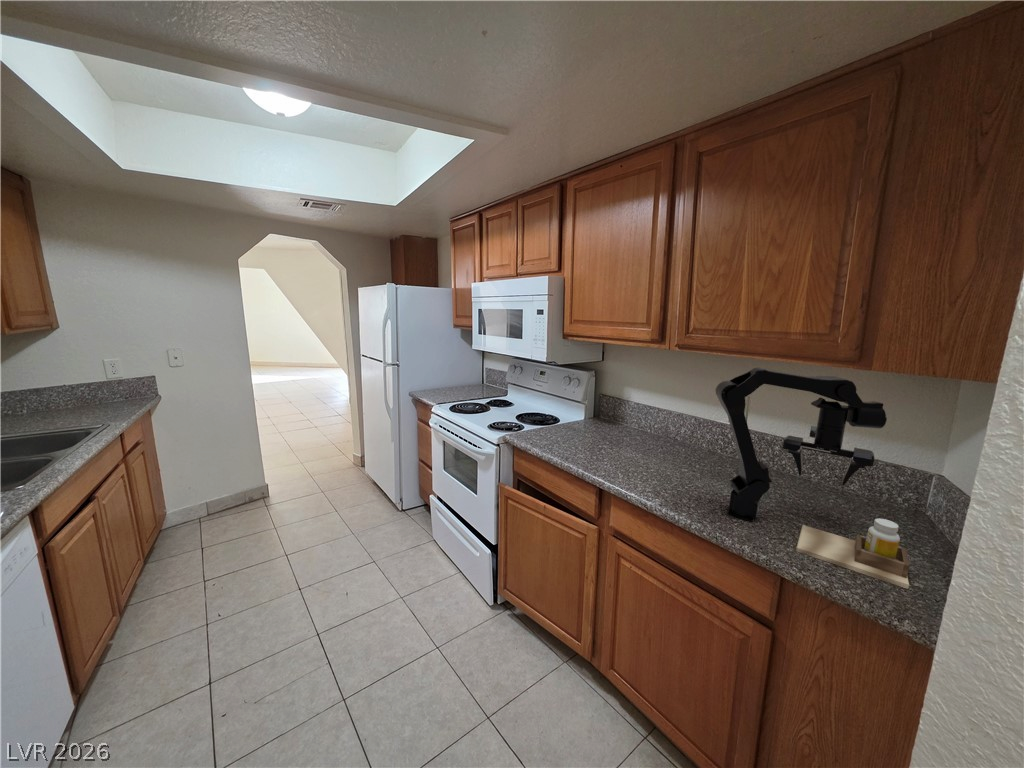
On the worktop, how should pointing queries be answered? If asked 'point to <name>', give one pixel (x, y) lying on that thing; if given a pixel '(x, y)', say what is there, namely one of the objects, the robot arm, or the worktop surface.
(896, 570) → the socket board
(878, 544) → the supplement bottle
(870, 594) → the worktop surface
